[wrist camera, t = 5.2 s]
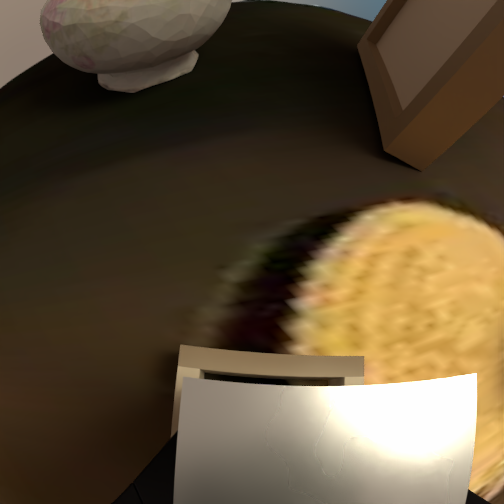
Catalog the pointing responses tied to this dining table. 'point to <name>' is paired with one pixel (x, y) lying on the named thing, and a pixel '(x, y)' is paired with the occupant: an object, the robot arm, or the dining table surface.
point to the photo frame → (432, 72)
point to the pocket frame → (264, 368)
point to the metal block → (325, 443)
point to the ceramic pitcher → (131, 37)
